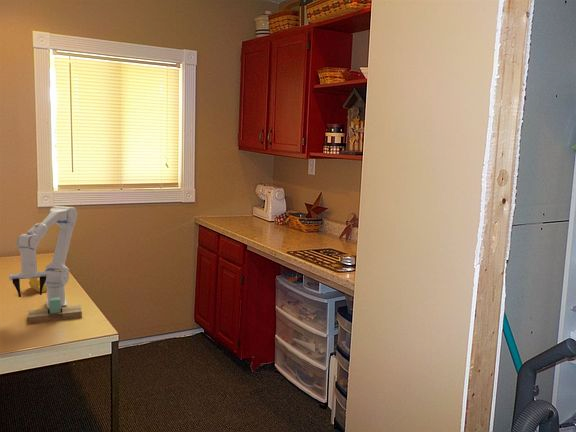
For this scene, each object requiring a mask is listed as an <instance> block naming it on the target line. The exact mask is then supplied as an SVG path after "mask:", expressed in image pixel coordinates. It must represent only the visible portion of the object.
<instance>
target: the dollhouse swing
mask: <svg viewBox="0 0 576 432" xmlns="http://www.w3.org/2000/svg"><path fill="white" fill-rule="evenodd" d="M28 279H29V281H28V284H29V287H30V288H31V289H33V290H35V291H36V292H38V293H40V278H28ZM45 292H46V293H47V286H45V284H44V286H43V289H42V293H45Z"/></svg>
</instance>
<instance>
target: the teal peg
mask: <svg viewBox="0 0 576 432" xmlns="http://www.w3.org/2000/svg"><path fill="white" fill-rule="evenodd" d="M49 300H50V308H49V309H50V314H53V313H61V307H62V306H60V297H52V298H49Z"/></svg>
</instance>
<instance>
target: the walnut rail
mask: <svg viewBox="0 0 576 432" xmlns="http://www.w3.org/2000/svg"><path fill="white" fill-rule="evenodd" d="M60 307H61V313H53V314H50V308H44V309H43V308H40V309H31V310H28V315H27V317H28V318H27V319H28V322H27V323H28V324H32V323H42V322H43V323H45V322H49V321H50V322H51V321H59V320H68V319H69V320H70V319H75V318H82V317H83V313H82V308H81V307H82V306H81V305H80V304H78V305H71V306H60Z"/></svg>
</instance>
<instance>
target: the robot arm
mask: <svg viewBox="0 0 576 432" xmlns="http://www.w3.org/2000/svg"><path fill="white" fill-rule="evenodd" d="M78 216H79V214H78V211H77V208H76V207H74V206H61V205H60V206H59V205H54V206H52V207H51V208H50V209H49V214H48V215H47V216H46V217H45V218H44V219H43V220H42V222H37V223H35V224H34V225H33V226H32V227H31V228H29V229H28V231H27V232H26V233H21V234H20V235H19V236H18V237H17V239H16V241H15V244H16V246H17V248H18V252H19V254H20V269H21V272H18V273H13V274H11V273H10V274H9V275H8V280H9V281H12V284H13V286H14V288H15V289H16V292H17V294H18V298H21V296H22V292H21V282H20V281H21V280H26V279H29V278H37V279H40V292H39V296H42V293H43V292H42V289H43V286H44V284H45V286H47V291H46V301H45V302H46V309H50V300H49V298H52V297H60V307H68V306H67V305H68V304H67V298H66V287H65V285H67V284H68V282H69V279H70V276H69V273H70V269H69V267H68V266H66V260H67V255H68V253H69V248H70V245H71V244H70V243H71V240H72V237H73V236H72V235H73V232H74V228H75V226H76V224H77V223H76V222H77V219H78ZM54 224H56V226H59V228H60V230H59V233H58V238H57V242H56V246H55V249H54V253H53V257H52V261H51V262H50V263H48V264H47V265H46V266H45V269H44V271H38V266H37V248H38V247H39V245H40V242H41V240H42V239H43V237H45V236H46V235H47V233H48V232H49V231H48V230H49V228H50V227H52V226H53V225H54Z"/></svg>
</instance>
